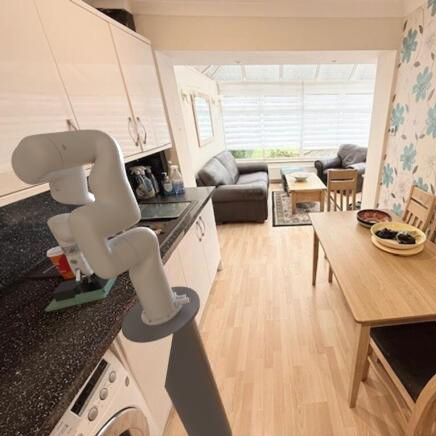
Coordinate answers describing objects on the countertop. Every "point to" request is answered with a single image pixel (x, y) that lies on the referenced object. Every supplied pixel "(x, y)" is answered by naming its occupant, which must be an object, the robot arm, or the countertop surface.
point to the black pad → (97, 281)
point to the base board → (83, 297)
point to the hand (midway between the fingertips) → (95, 283)
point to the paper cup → (60, 262)
